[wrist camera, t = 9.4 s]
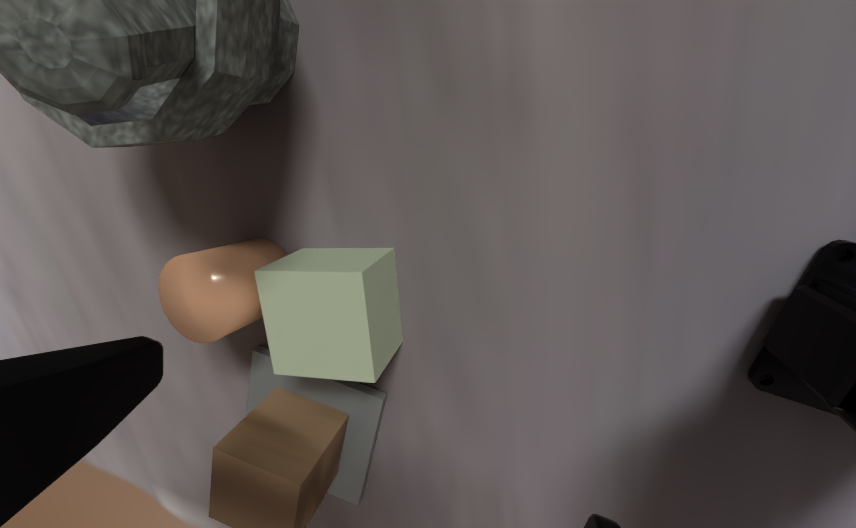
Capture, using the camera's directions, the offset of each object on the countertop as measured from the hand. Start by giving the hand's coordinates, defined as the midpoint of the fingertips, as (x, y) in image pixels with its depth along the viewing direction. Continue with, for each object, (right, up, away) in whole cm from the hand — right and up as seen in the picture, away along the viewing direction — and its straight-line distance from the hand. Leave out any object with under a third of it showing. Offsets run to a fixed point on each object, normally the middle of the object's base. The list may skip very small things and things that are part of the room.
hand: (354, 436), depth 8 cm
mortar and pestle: (-7, +13, +11) cm, 19 cm away
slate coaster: (-5, -6, +16) cm, 18 cm away
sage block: (-2, +2, +13) cm, 14 cm away
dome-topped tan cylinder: (-7, +3, +14) cm, 16 cm away
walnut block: (-6, -6, +16) cm, 18 cm away
